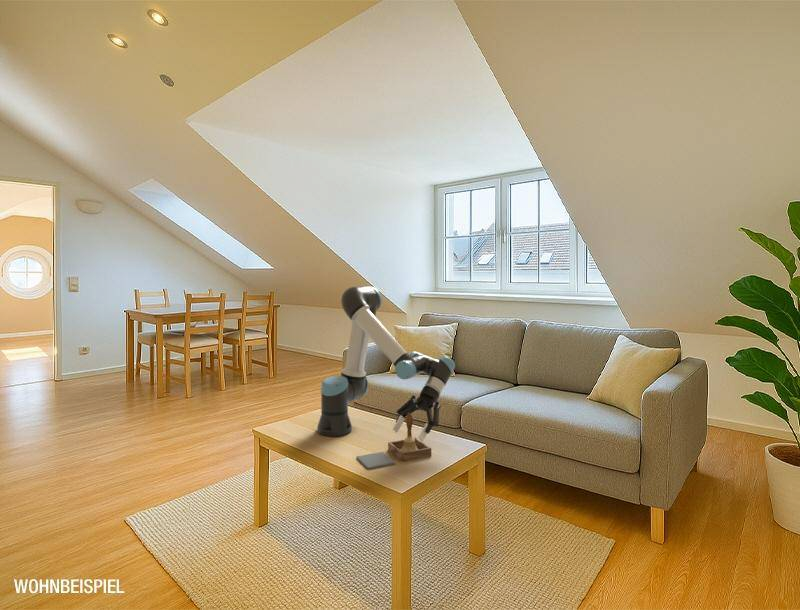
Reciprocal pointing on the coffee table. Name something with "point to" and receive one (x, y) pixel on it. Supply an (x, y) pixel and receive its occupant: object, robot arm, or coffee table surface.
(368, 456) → the grey rubber pad
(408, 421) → the hand bell
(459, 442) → the coffee table surface
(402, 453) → the brown wooden square frame
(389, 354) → the robot arm
